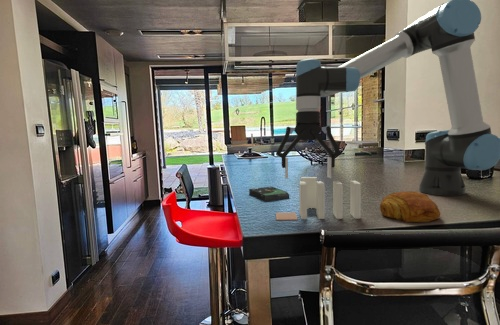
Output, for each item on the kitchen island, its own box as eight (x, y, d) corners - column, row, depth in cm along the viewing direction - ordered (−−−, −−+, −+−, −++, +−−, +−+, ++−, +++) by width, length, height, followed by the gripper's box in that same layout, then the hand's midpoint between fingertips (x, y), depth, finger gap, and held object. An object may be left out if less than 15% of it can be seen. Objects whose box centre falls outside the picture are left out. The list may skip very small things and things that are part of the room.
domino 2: (316, 207, 102) (316, 177, 101) (317, 208, 100) (317, 177, 99) (301, 207, 102) (300, 177, 101) (301, 208, 100) (301, 178, 99)
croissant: (373, 217, 96) (370, 192, 95) (421, 208, 96) (418, 183, 96) (399, 232, 81) (395, 202, 81) (455, 221, 82) (452, 191, 81)
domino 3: (321, 214, 93) (321, 181, 92) (324, 218, 88) (324, 184, 87) (316, 214, 93) (316, 181, 92) (319, 219, 88) (319, 184, 87)
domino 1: (305, 214, 94) (304, 181, 93) (307, 219, 89) (306, 184, 88) (299, 214, 94) (299, 181, 93) (301, 219, 89) (301, 184, 88)
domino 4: (338, 213, 93) (338, 180, 92) (342, 218, 88) (342, 183, 87) (333, 214, 93) (333, 181, 92) (336, 218, 88) (336, 184, 87)
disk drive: (248, 195, 125) (265, 202, 112) (248, 188, 125) (265, 195, 111) (271, 192, 129) (290, 199, 116) (271, 186, 129) (290, 191, 116)
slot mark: (295, 213, 95) (295, 212, 95) (297, 220, 88) (297, 219, 88) (275, 213, 95) (275, 212, 95) (276, 220, 88) (276, 219, 88)
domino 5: (355, 213, 93) (355, 180, 92) (360, 218, 88) (361, 183, 87) (350, 213, 93) (350, 180, 92) (354, 218, 88) (355, 183, 87)
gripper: (345, 111, 101) (344, 175, 103) (268, 112, 102) (268, 176, 104) (351, 109, 93) (350, 179, 95) (268, 111, 95) (269, 179, 97)
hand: (307, 177), depth 100 cm, fingers open, 13 cm apart
